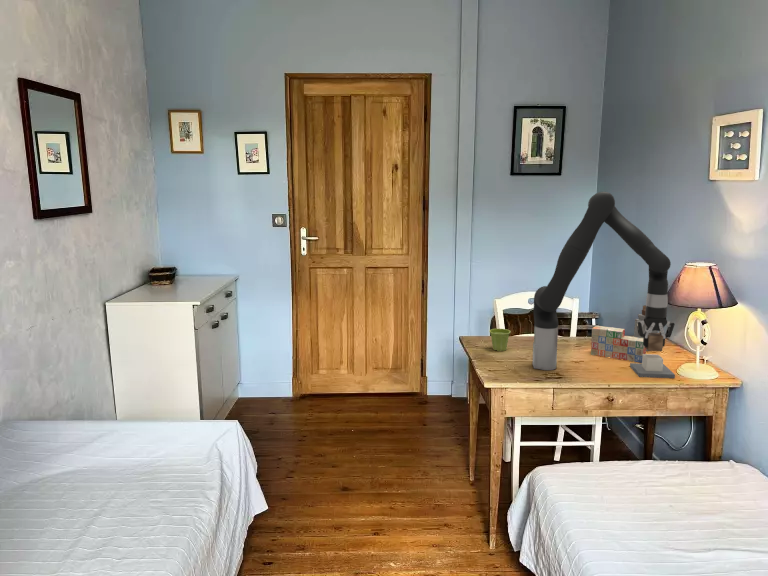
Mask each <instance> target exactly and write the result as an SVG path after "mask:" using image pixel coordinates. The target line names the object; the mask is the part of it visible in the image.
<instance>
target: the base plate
mask: <svg viewBox="0 0 768 576" xmlns="http://www.w3.org/2000/svg"><path fill="white" fill-rule="evenodd" d="M629 363H630V364H629V367H630V369H631V370H632V371H633V372H634V373H635V374H636V375H637V376H638V377H639V378H655V379H660V378H661V379H675V378H676V374H675V373H674V372H673V371H672V370H671V369H669V367H667V365H665V364H664V358H663V357H662V356H661V355H660V354H653V353H652V354H650V353H649V354H648V353H646V354H643V355H642V363H639V362H629Z"/></svg>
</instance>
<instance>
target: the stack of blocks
mask: <svg viewBox="0 0 768 576" xmlns="http://www.w3.org/2000/svg"><path fill="white" fill-rule="evenodd" d="M625 330H626V329H625V328H619V327H612V326H611V327H610V326H602V325H595V326H594V327H592V328H591V338H590V339H591V342H590V345H591V348H590V355H591V356H595V355H598V356H597V357H601V356H604V357H603V358H607V357H610V358H609V359H614V358H617V359H616V360H621V359H623V360H622V361H627V360H629V361H628V362H633V361H634V362H633V363H641V364H642V355H643V354H647V352H646V348H645V346H644V345H643V338H638V337H634V336H629V335H625V333H626V331H625Z"/></svg>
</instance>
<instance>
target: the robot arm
mask: <svg viewBox="0 0 768 576" xmlns="http://www.w3.org/2000/svg"><path fill="white" fill-rule="evenodd" d="M603 224H607V226H609V227H610V228H611V229H612V230H613V231H614V232H615V233H616V234H617V235H618V236H619V237H620V238H621V239H622V240H623V241H624V242H625V243H626V245H627V246H628V247H629V248H630V249H631V250H632V251H634V252H635V254H636V255H638V256H639V257H641V259H642V261H644V262H645V264H646V265H647V266H648V284H647V294H646V300H645V305H646V311H645V319H644V321H637V322H636V324H637V329H638V334H639V335H640V336H641V337H643V345H644V346H645V347H646V348H648V336H649V334H650V333H651V331H655V330H656V331H658V333H660V334H661V335H662V336H663V347H665V345H666V344H665V343H666V339H667V338H671V337H672V333H673V331H674V328H675V323H674V322H673V321H668V320H667V313H668V305H669V303H668V299H669V298H668V291H669V281H668V271H669V270H670V268H671V265H672V264H671V260H670V258H669V257H668V256H667V255H666V254H665V253H664V252H663V251H662V250H660V249H659V248H658V247H657V246H656V245H655V243H654V242H653V241H652V239H650V238H649V237H648V235H646V234H645V233H644V232H643V231H642V230H641V229H640V228H639V227H637V226H636V225H635V224H634V223H632V222H631V221H629V220H628V219H627V218H626V217H625V216H623V214H622V213H621V211H619V210H618V208H617V207H616V200H615V197H614V196H613V194H611V193H610V192H608V191H599V192H596V193H595V194H593V195H592V196H591V197H590V198H589V200H588V203H587V209H586V211H585V213H584V216H583V218H582V220H581V221H580V223H579V224H578V226H577V227H575V230H574V231H573V232H572V233H571V235H570V236H569V237H568V239H567V241H566V242H565V243H564V245H563V248H562V250H561V251H560V253H559V255H558V259H557V262H556V266H555V269H554V273H553V275H552V277H551V279H550V281H549V282H548V284H547V285H544V286H543V285H542V286H541V287H539V288H537V289H536V291H535V293H534V296H533V321H534V329H533V330H534V331H533V332H534V333H533V343H532V360H531V362H532V367H533V369H535V370H536V369H537V370H543V371H552V370H555V369H557V361H558V360H557V358H558V357H557V356H558V341H559V340H558V339H559V338H558V336H559V318H558V315H557V310H558V308H559V307H560V306H561V305H562V302H563V300H564V297H565V295H566V293H567V290H568V288H569V286H570V284H571V282H572V281H573V279H574V278H575V277H576V275H577V272H578V271H579V269H580V268H581V266H582V264H583V263H584V261H585V259H586V257H587V255H588V253H590V252H589V251H590V250H591V248H592V246H593V244H594V242H595V239H596V237H597V234H598V233H599V231H600V228H601V227H602V226H603ZM644 323H645V325H646V326H647V327H646V329H645V332H644V334H643V330H642V326H643V324H644ZM665 326H667V328H666V332H665V330H664V328H665Z"/></svg>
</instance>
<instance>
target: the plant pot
mask: <svg viewBox="0 0 768 576" xmlns="http://www.w3.org/2000/svg"><path fill="white" fill-rule="evenodd" d="M489 334H490V337H491V344H492V349H493V350H494V351H495V350H497V352H502V351H503V352H504V351H507V348H508V343H509V337H510V335H511V330H509V329H506V328H492V329H489Z"/></svg>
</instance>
